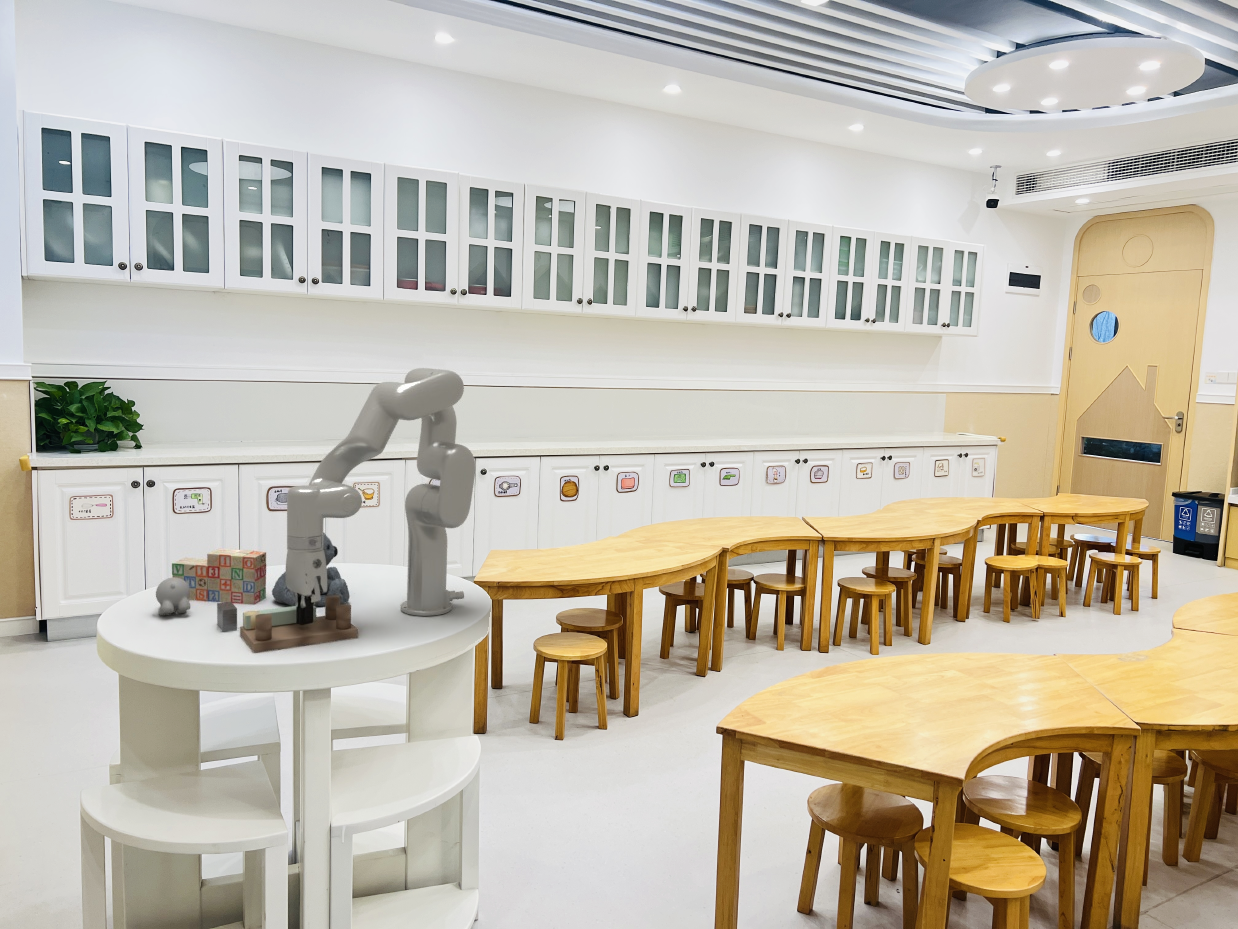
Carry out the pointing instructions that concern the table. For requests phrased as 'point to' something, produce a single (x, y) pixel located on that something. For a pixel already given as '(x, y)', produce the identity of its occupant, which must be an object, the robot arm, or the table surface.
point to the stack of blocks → (225, 576)
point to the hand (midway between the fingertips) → (304, 623)
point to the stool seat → (302, 629)
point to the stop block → (226, 616)
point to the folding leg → (273, 616)
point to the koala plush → (333, 581)
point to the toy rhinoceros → (173, 596)
